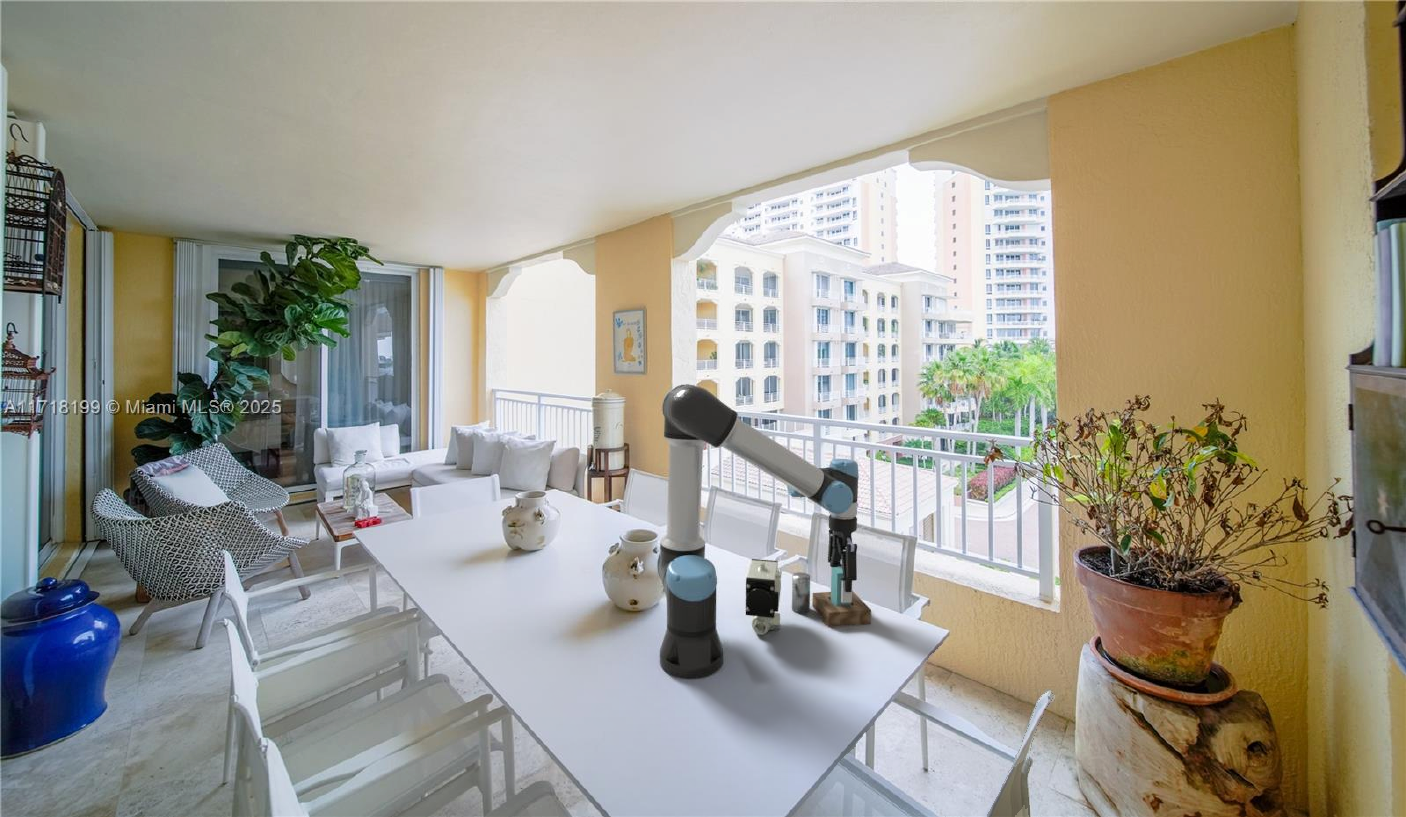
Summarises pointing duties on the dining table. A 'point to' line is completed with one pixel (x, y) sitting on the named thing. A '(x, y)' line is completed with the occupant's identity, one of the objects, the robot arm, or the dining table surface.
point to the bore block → (841, 611)
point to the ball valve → (763, 595)
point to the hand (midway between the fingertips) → (840, 595)
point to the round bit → (801, 593)
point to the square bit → (837, 586)
